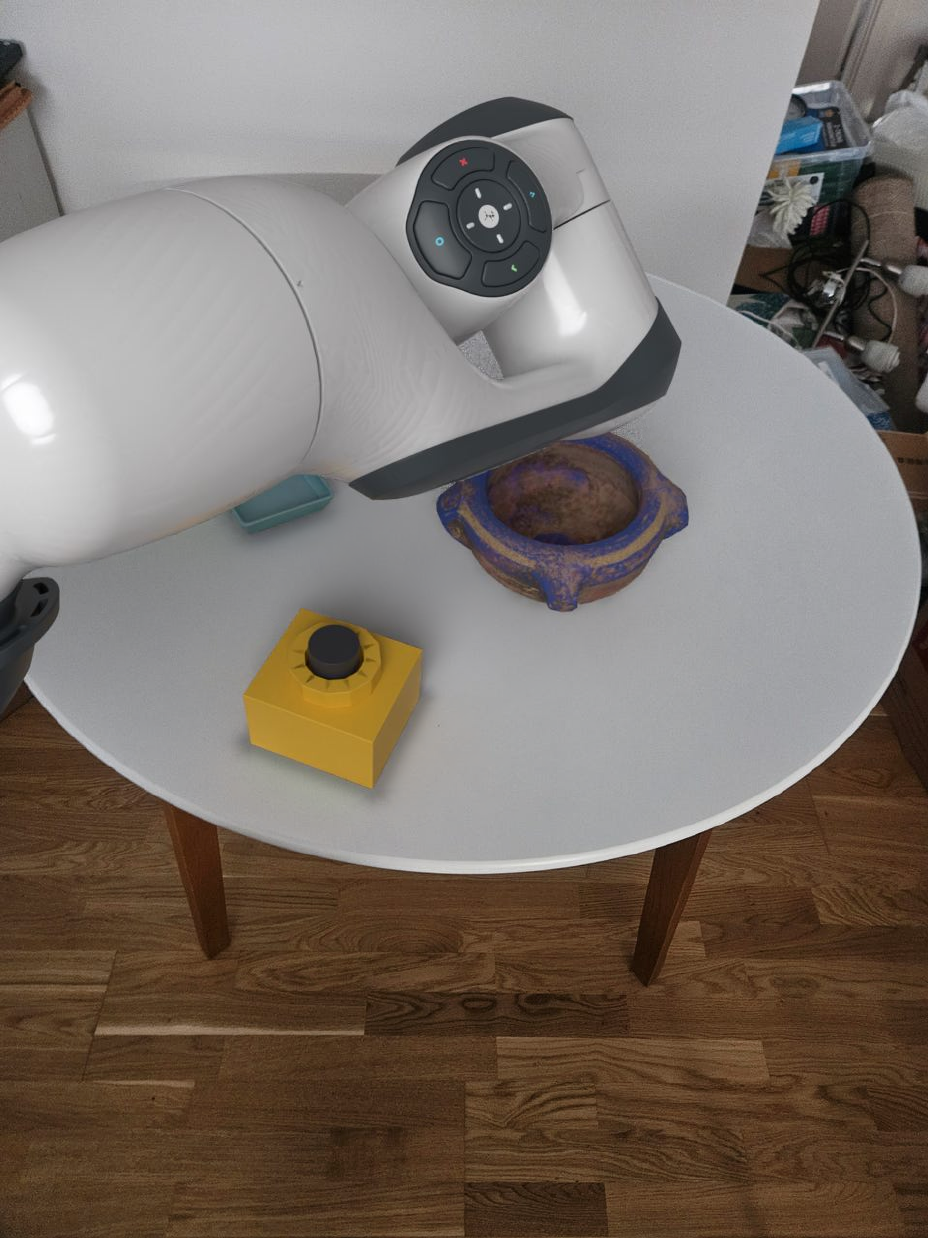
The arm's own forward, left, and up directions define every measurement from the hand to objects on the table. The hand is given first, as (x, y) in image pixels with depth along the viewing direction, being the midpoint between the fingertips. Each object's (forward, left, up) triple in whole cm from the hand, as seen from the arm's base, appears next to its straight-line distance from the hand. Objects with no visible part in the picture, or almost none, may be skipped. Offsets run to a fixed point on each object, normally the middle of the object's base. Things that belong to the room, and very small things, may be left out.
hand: (254, 379), depth 69 cm
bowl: (+21, +12, -21) cm, 32 cm away
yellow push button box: (+11, -11, -20) cm, 26 cm away
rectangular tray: (-12, +14, -21) cm, 27 cm away
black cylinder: (+11, -11, -13) cm, 21 cm away
